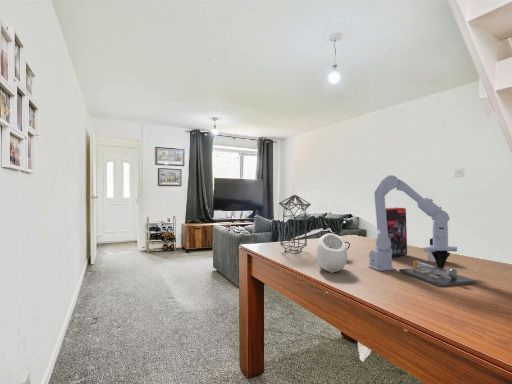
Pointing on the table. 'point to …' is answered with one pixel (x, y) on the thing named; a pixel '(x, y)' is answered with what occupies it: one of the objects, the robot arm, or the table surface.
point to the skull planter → (331, 253)
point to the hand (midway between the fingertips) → (440, 267)
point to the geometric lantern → (294, 222)
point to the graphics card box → (397, 230)
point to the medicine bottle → (430, 256)
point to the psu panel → (436, 277)
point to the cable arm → (437, 270)
